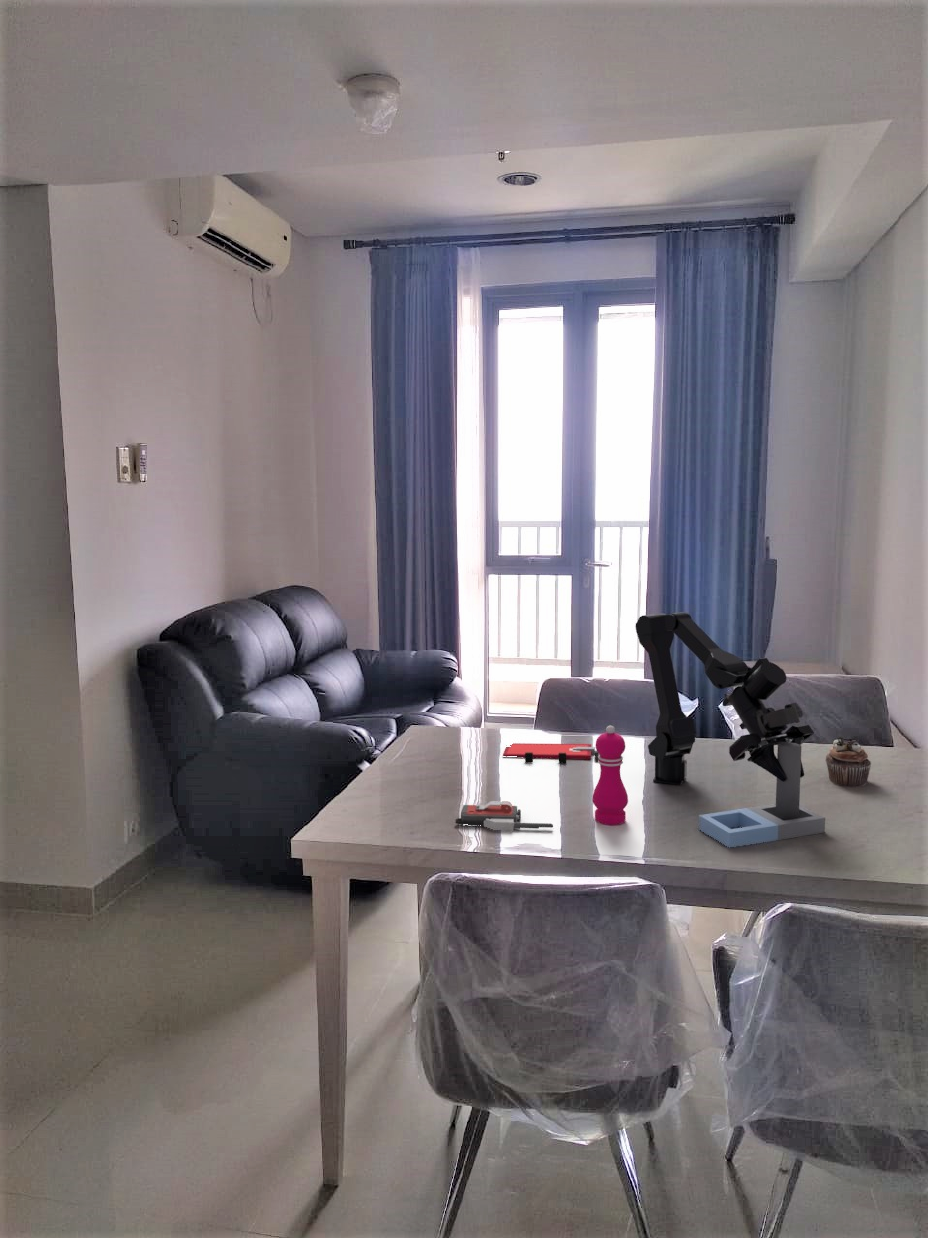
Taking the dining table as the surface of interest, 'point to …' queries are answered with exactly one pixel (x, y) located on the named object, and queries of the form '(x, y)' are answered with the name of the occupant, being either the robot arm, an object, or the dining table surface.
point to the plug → (789, 780)
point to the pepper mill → (610, 780)
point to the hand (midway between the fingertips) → (794, 778)
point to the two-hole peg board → (759, 825)
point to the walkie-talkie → (495, 816)
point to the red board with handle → (551, 751)
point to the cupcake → (848, 763)
